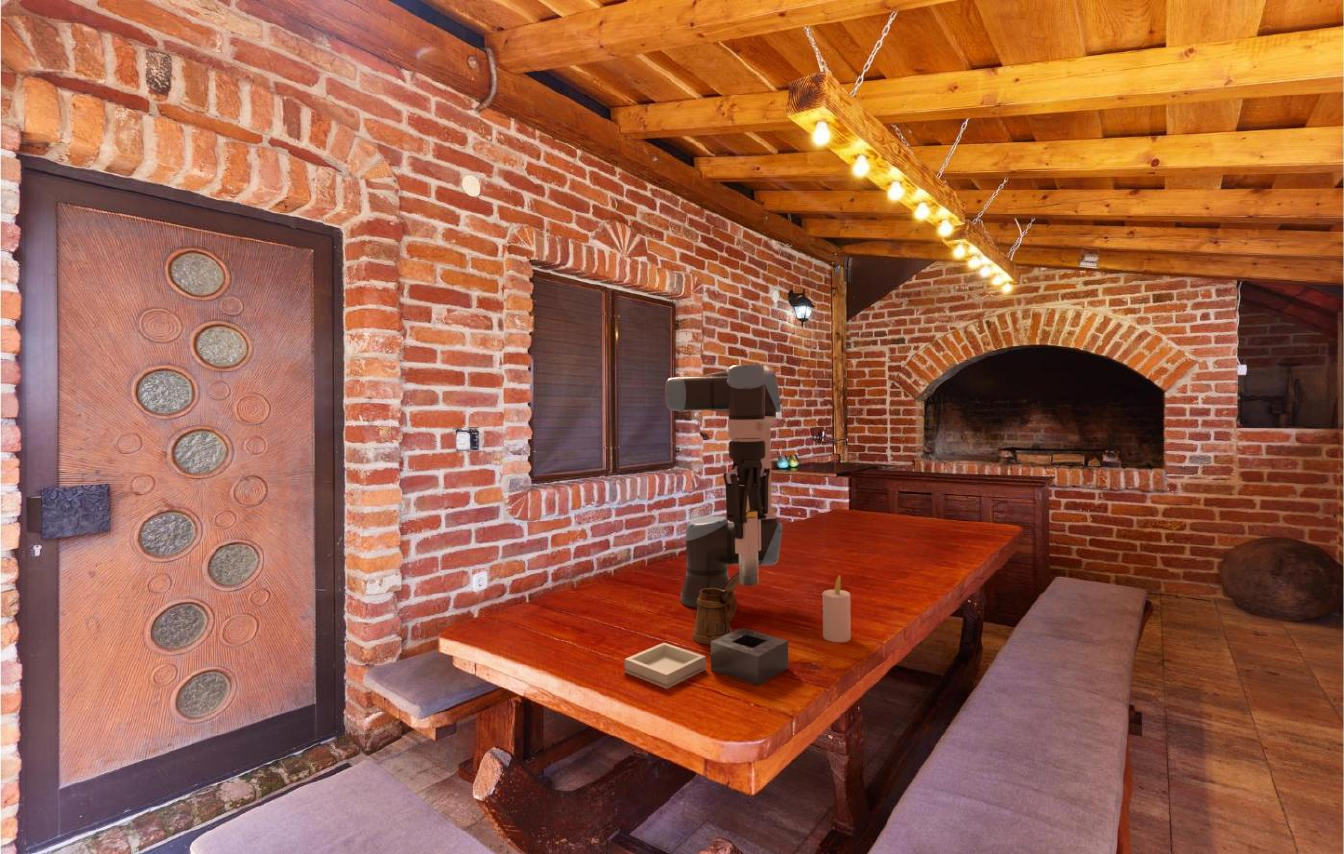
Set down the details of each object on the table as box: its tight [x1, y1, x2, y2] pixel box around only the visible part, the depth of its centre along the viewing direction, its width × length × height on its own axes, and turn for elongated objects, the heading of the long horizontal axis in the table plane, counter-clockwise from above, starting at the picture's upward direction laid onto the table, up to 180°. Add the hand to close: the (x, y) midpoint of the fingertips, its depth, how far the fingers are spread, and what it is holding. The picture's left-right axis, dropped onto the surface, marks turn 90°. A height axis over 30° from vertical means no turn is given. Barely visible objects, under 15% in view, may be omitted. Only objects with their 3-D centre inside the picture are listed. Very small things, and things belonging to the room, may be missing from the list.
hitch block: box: [710, 627, 789, 687], centre depth 135 cm, size 12×11×6 cm
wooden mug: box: [692, 571, 740, 645], centre depth 152 cm, size 9×14×18 cm, turn 51°
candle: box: [821, 574, 852, 643], centre depth 152 cm, size 6×6×15 cm
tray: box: [624, 642, 707, 690], centre depth 135 cm, size 12×12×3 cm
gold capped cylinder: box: [738, 509, 759, 587], centre depth 135 cm, size 4×4×15 cm
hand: (748, 551), depth 135 cm, fingers closed on gold capped cylinder, 4 cm apart
